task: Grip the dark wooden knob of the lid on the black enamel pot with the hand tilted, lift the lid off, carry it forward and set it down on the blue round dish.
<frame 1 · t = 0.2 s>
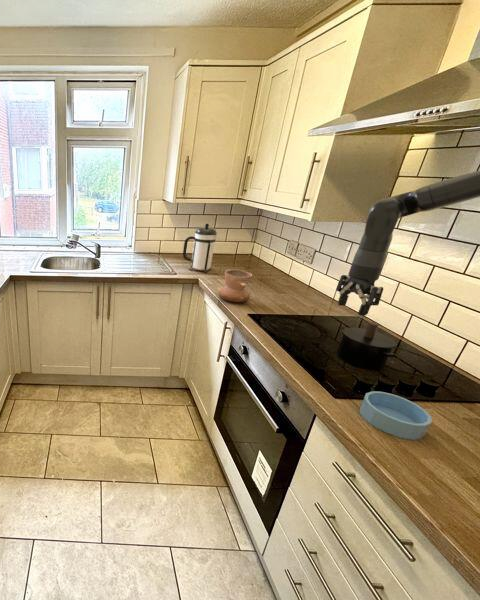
hand: (351, 310, 106), 17 cm above the worktop, tool pointing down, fingers open, 8 cm apart
ceramic jug: (232, 299, 159), on the worktop
pot: (359, 359, 108), on the worktop
lid: (368, 338, 105), point 8 cm above the worktop, touching pot
coffee press: (197, 270, 207), on the worktop
blue round dish: (390, 420, 82), on the worktop
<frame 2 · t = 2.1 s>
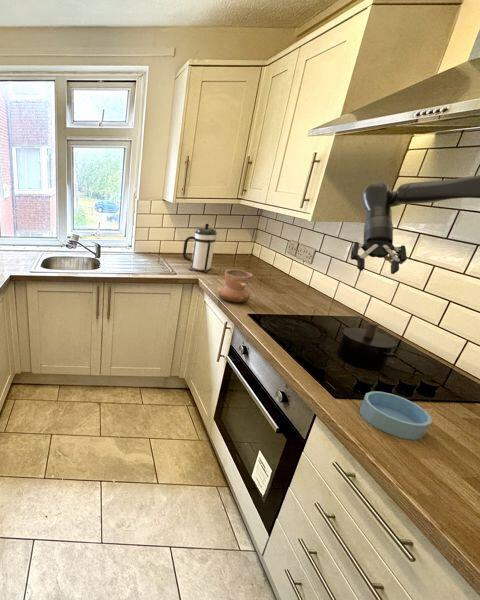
hand: (377, 271, 107), 29 cm above the worktop, tool tilted 45°, fingers open, 8 cm apart
nothing on the worktop moved.
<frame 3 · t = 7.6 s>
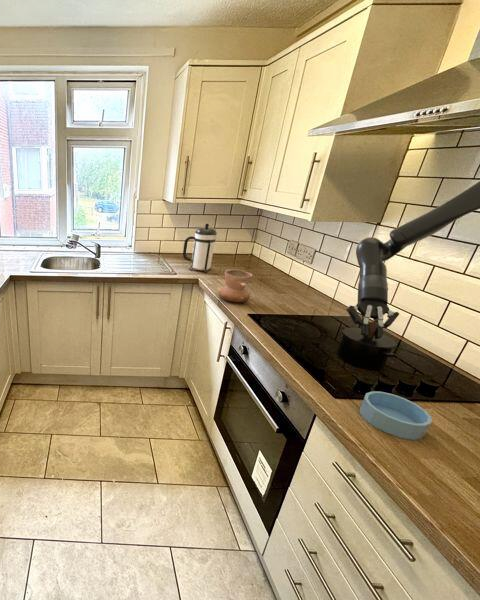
hand: (371, 337, 103), 10 cm above the worktop, tool tilted 45°, fingers closed on lid, 2 cm apart
lid: (368, 338, 105), point 9 cm above the worktop, touching gripper, pot
everything else where it was.
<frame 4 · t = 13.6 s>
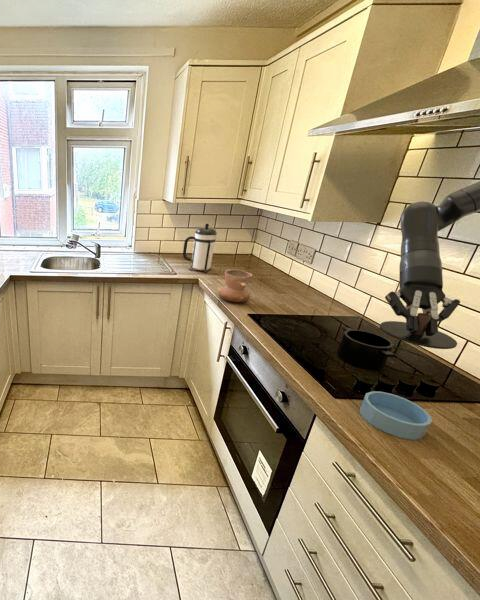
hand: (421, 333, 76), 24 cm above the worktop, tool tilted 45°, fingers closed on lid, 2 cm apart
lid: (415, 334, 78), point 22 cm above the worktop, touching gripper
everything else where it was.
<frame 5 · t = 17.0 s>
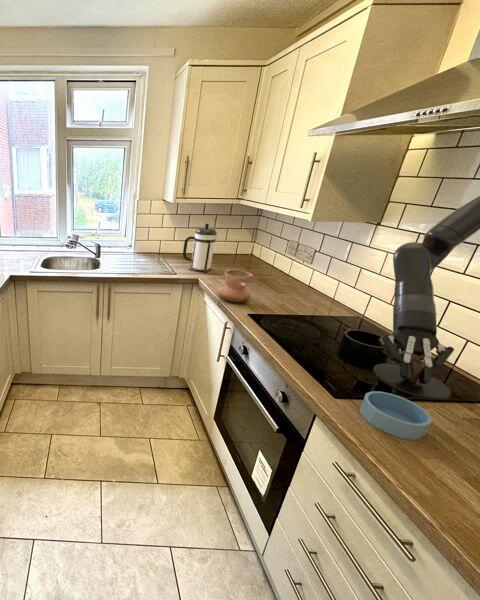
hand: (415, 380, 75), 14 cm above the worktop, tool tilted 45°, fingers closed on lid, 2 cm apart
lid: (409, 381, 77), point 12 cm above the worktop, touching gripper
everything else where it was.
when the fingers open (6 cm above the worktop, at t = 19.4 s): lid stays where it is, resting on blue round dish.
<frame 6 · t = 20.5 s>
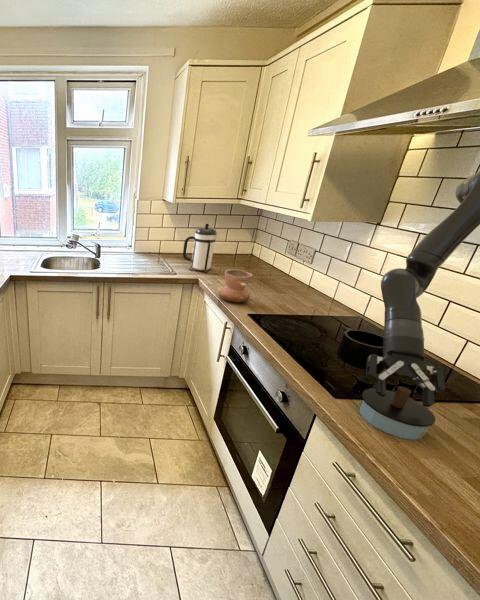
hand: (403, 400, 78), 7 cm above the worktop, tool tilted 45°, fingers open, 8 cm apart
lid: (396, 406, 80), point 4 cm above the worktop, touching blue round dish
everything else where it was.
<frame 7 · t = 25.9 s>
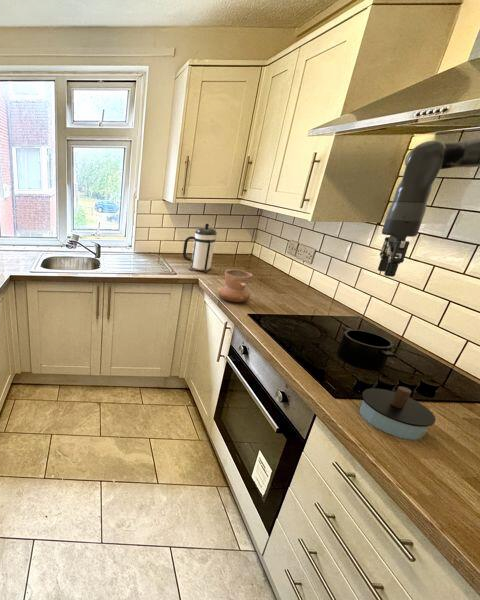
hand: (385, 273, 96), 31 cm above the worktop, tool pointing down, fingers open, 8 cm apart
nothing on the worktop moved.
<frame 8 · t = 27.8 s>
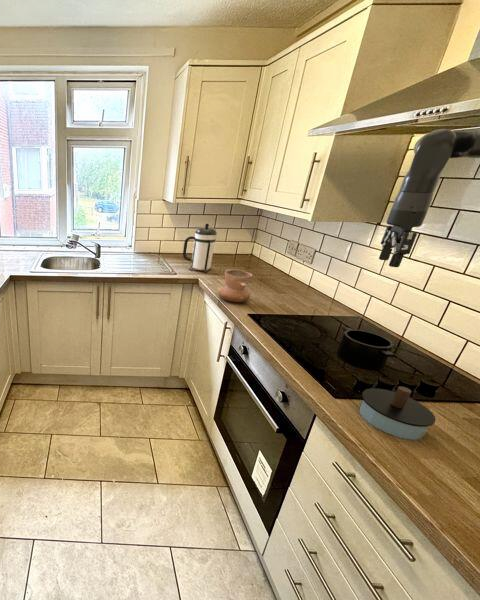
hand: (388, 263, 96), 34 cm above the worktop, tool pointing down, fingers open, 8 cm apart
nothing on the worktop moved.
at the end: lid 0.1 cm off-centre on the blue round dish, point 4.5 cm above the blue round dish's base; lid tilted 0°; the gripper is holding nothing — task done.
